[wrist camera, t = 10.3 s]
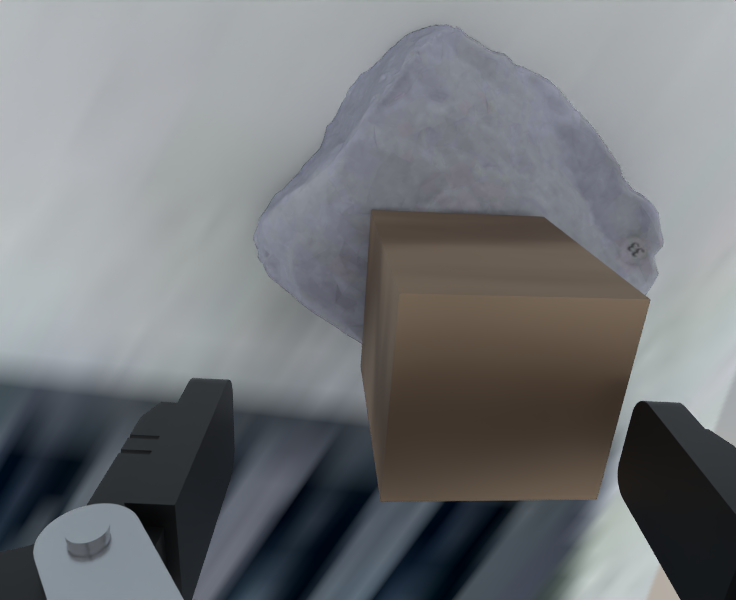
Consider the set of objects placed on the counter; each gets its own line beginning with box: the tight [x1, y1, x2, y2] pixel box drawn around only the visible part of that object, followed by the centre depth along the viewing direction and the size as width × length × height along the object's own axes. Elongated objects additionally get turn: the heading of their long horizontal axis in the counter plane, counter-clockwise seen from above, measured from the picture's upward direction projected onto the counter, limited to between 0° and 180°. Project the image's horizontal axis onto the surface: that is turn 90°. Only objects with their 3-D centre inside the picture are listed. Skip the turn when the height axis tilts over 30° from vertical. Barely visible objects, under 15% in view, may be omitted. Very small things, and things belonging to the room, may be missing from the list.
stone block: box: [253, 25, 663, 343], centre depth 20 cm, size 12×5×10 cm
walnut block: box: [361, 210, 650, 502], centre depth 15 cm, size 5×5×6 cm
